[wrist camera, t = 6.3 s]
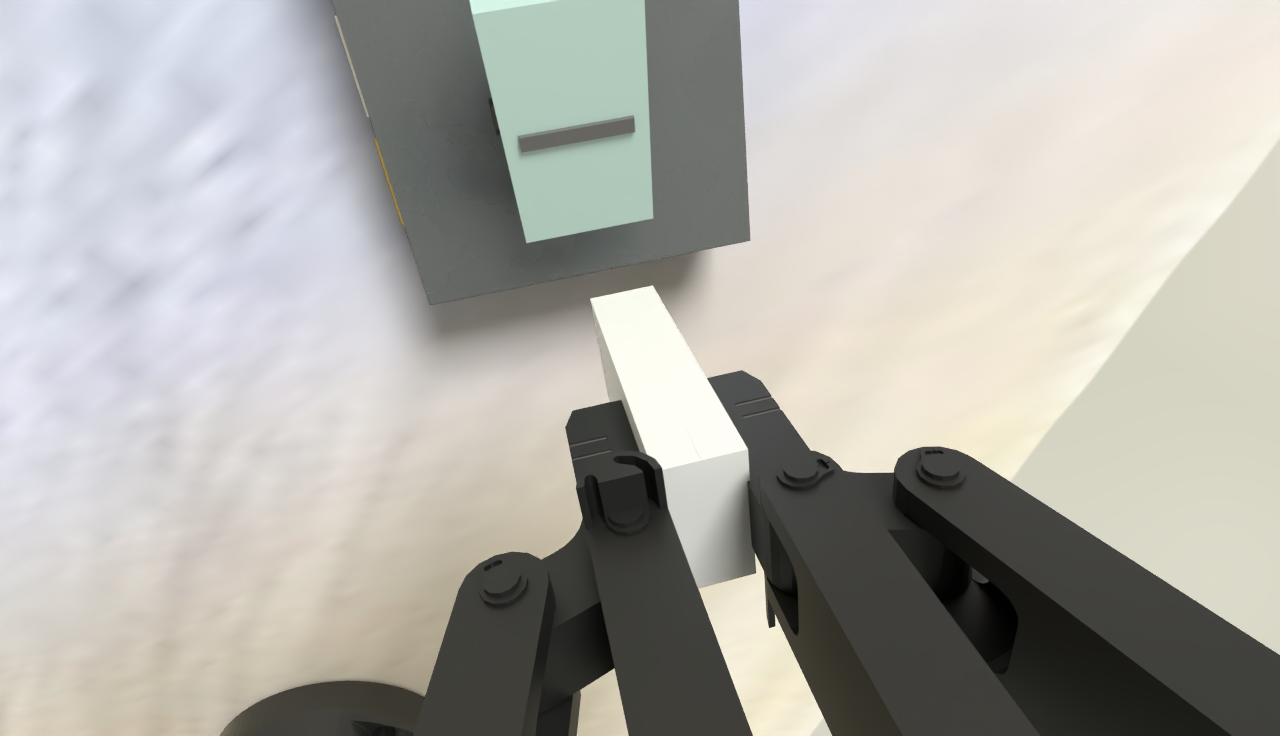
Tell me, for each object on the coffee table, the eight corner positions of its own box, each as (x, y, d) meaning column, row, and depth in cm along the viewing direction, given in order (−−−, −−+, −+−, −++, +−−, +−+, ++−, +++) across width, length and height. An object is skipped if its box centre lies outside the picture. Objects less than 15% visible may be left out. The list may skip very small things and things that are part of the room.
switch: (519, 207, 26) (527, 245, 24) (465, -20, 19) (472, 17, 18) (640, 184, 26) (654, 221, 25) (627, -45, 20) (645, -11, 18)
